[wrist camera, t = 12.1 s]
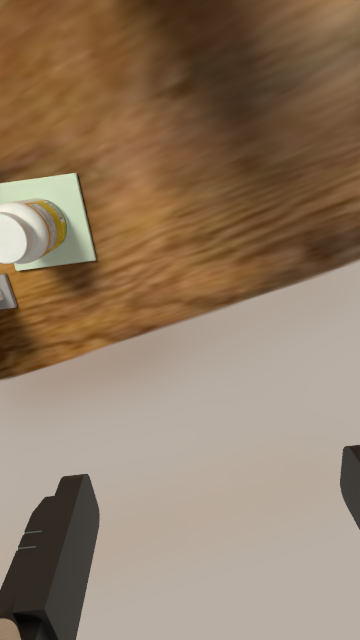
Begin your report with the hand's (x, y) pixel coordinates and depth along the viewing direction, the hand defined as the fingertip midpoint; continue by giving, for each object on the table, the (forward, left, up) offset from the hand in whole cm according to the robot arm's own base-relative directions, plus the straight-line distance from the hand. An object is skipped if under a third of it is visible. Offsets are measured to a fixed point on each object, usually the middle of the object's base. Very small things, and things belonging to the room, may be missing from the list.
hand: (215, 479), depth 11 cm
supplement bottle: (-6, -14, -30) cm, 34 cm away
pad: (-6, -14, -30) cm, 34 cm away
